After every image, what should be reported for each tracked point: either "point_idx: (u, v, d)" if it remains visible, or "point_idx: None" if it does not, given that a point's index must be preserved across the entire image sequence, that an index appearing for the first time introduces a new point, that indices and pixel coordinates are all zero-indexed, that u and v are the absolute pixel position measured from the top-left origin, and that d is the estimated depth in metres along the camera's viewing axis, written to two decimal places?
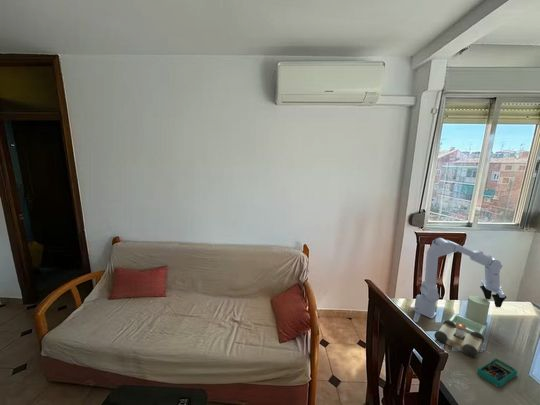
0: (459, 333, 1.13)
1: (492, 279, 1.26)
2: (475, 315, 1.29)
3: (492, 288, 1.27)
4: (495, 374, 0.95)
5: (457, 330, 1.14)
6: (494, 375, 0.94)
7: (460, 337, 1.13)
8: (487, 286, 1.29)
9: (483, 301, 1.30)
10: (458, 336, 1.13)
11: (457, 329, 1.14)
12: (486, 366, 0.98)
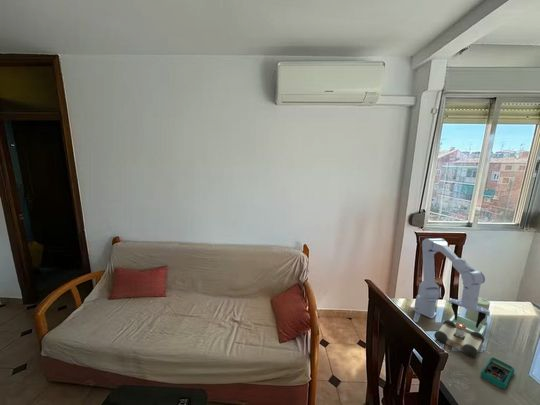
0: (459, 333, 1.13)
1: (463, 292, 1.12)
2: (475, 315, 1.29)
3: None
4: (498, 375, 0.94)
5: (457, 330, 1.14)
6: (497, 377, 0.93)
7: (460, 337, 1.13)
8: None
9: (483, 301, 1.30)
10: (458, 336, 1.13)
11: (457, 329, 1.14)
12: (487, 367, 0.98)
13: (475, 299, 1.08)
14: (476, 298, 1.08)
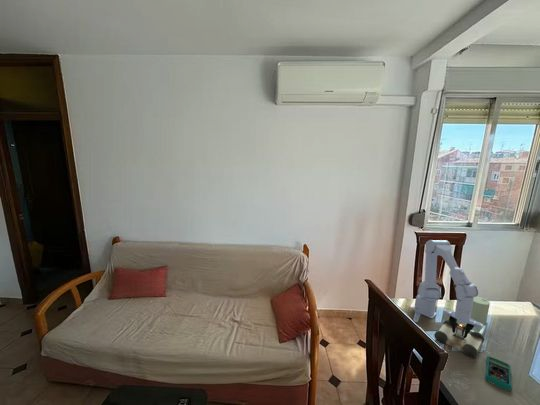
0: (459, 333, 1.13)
1: (456, 304, 1.13)
2: (475, 315, 1.29)
3: None
4: (501, 376, 0.93)
5: (457, 330, 1.14)
6: (501, 378, 0.93)
7: (460, 337, 1.13)
8: None
9: (483, 301, 1.30)
10: (458, 336, 1.13)
11: (457, 329, 1.14)
12: (489, 369, 0.97)
13: (467, 312, 1.09)
14: (469, 311, 1.09)
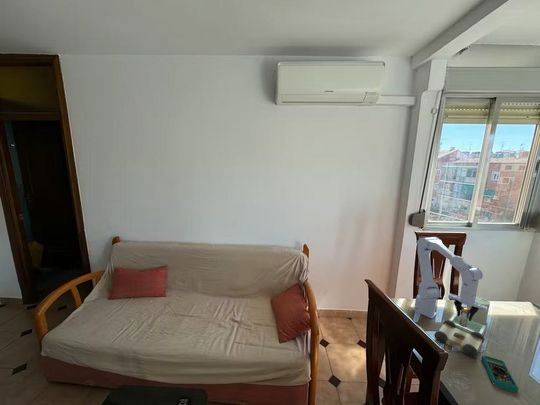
0: (464, 316, 1.15)
1: (462, 288, 1.15)
2: (475, 315, 1.29)
3: None
4: (505, 378, 0.93)
5: (462, 313, 1.16)
6: (506, 380, 0.92)
7: (465, 320, 1.15)
8: None
9: (483, 301, 1.30)
10: (463, 319, 1.16)
11: (462, 312, 1.16)
12: (492, 371, 0.96)
13: (472, 295, 1.12)
14: (475, 294, 1.12)
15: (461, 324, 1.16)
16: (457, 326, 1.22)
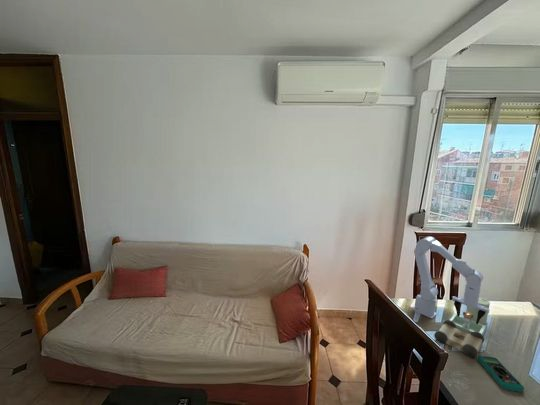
0: (466, 321, 1.21)
1: (467, 293, 1.20)
2: (475, 315, 1.29)
3: None
4: (509, 378, 0.93)
5: (464, 318, 1.22)
6: (511, 380, 0.92)
7: (467, 325, 1.21)
8: None
9: (483, 301, 1.30)
10: (465, 324, 1.22)
11: (464, 318, 1.22)
12: (496, 373, 0.95)
13: (475, 298, 1.18)
14: (478, 296, 1.18)
15: None
16: (457, 326, 1.22)
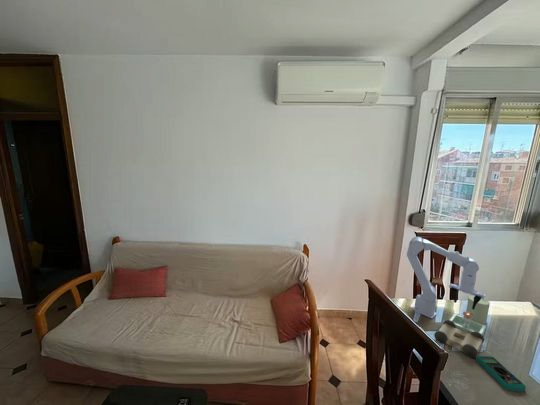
0: (466, 321, 1.21)
1: (465, 280, 1.24)
2: (475, 315, 1.29)
3: None
4: (510, 378, 0.93)
5: (464, 318, 1.22)
6: (513, 380, 0.92)
7: (467, 325, 1.21)
8: None
9: (483, 301, 1.30)
10: (465, 324, 1.22)
11: (464, 317, 1.22)
12: (497, 374, 0.95)
13: (471, 284, 1.23)
14: None
15: None
16: (457, 326, 1.22)
